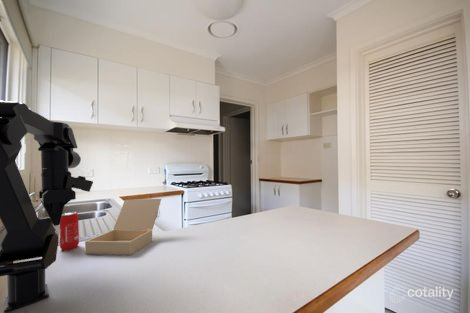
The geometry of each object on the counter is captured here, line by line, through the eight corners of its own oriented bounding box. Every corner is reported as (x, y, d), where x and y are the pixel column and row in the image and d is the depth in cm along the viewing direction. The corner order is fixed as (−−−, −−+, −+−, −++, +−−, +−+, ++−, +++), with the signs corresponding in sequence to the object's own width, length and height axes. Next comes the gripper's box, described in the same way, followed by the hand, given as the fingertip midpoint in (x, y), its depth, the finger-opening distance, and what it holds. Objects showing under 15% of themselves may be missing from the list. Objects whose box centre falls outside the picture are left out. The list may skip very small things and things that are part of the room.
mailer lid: (160, 198, 84) (161, 199, 84) (124, 199, 87) (125, 200, 87) (151, 229, 77) (152, 229, 77) (113, 229, 80) (113, 229, 80)
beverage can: (68, 251, 71) (67, 215, 71) (56, 251, 72) (55, 215, 72) (82, 245, 76) (81, 211, 76) (70, 245, 77) (70, 211, 77)
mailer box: (130, 255, 65) (129, 242, 65) (85, 254, 68) (85, 241, 68) (152, 241, 76) (152, 229, 77) (113, 240, 79) (113, 229, 80)
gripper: (97, 166, 58) (99, 223, 57) (83, 167, 71) (84, 214, 70) (42, 168, 50) (44, 235, 49) (38, 169, 63) (39, 222, 62)
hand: (56, 225), depth 58 cm, fingers closed
